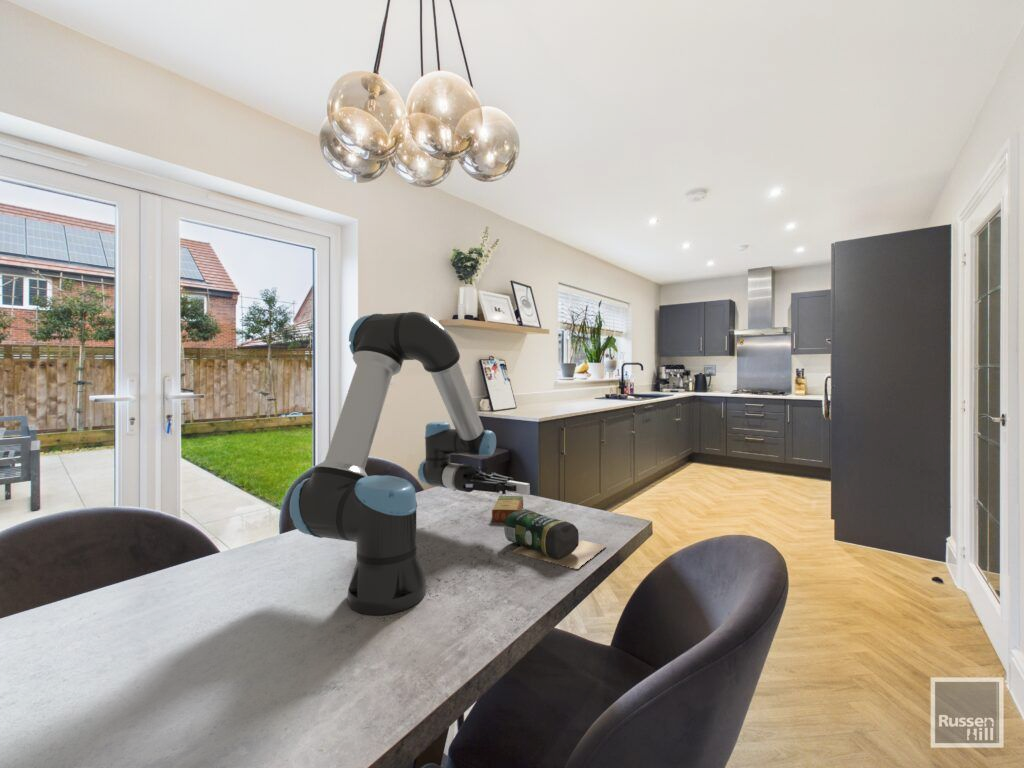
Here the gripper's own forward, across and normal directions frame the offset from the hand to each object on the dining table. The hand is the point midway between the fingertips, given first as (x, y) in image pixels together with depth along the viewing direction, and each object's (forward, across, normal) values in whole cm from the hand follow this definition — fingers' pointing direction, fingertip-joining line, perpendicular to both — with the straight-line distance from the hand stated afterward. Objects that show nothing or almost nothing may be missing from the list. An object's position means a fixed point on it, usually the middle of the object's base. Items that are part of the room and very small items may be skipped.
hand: (528, 489), depth 117 cm
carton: (-19, -17, -15) cm, 29 cm away
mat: (+9, 0, -14) cm, 17 cm away
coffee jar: (-4, 0, -10) cm, 11 cm away
